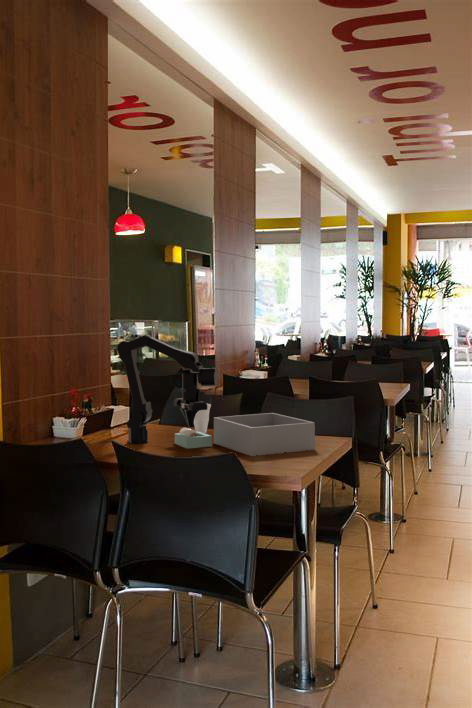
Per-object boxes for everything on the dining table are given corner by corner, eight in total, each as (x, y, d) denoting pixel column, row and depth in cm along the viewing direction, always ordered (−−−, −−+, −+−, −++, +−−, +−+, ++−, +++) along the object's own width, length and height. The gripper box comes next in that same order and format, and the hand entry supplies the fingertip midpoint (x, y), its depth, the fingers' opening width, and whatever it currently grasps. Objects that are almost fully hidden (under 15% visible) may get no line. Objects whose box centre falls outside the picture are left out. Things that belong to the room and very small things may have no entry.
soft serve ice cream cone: (212, 431, 305) (212, 393, 305) (209, 434, 297) (209, 395, 296) (192, 431, 306) (192, 393, 305) (189, 434, 298) (189, 395, 297)
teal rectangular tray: (187, 448, 266) (187, 438, 265) (174, 443, 276) (174, 433, 276) (211, 446, 270) (211, 435, 270) (198, 441, 281) (198, 431, 281)
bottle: (179, 439, 279) (189, 442, 272) (178, 428, 279) (188, 431, 272) (189, 438, 281) (199, 441, 274) (189, 426, 281) (199, 429, 274)
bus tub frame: (251, 456, 250) (251, 428, 250) (213, 443, 277) (213, 417, 276) (314, 450, 262) (314, 422, 261) (272, 437, 289) (272, 412, 288)
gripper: (220, 386, 270) (220, 428, 271) (199, 382, 286) (199, 422, 287) (192, 388, 265) (193, 430, 265) (172, 384, 281) (173, 424, 282)
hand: (190, 426), depth 275 cm, fingers closed
